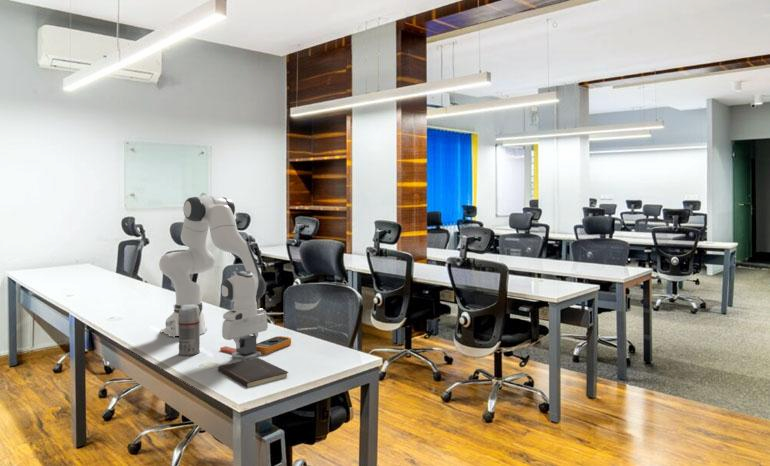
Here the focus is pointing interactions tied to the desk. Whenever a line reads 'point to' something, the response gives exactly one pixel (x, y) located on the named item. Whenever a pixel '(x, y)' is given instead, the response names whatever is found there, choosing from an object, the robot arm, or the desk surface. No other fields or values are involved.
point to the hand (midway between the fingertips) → (246, 346)
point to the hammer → (239, 355)
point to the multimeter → (273, 344)
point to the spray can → (189, 330)
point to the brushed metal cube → (247, 344)
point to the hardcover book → (252, 372)
